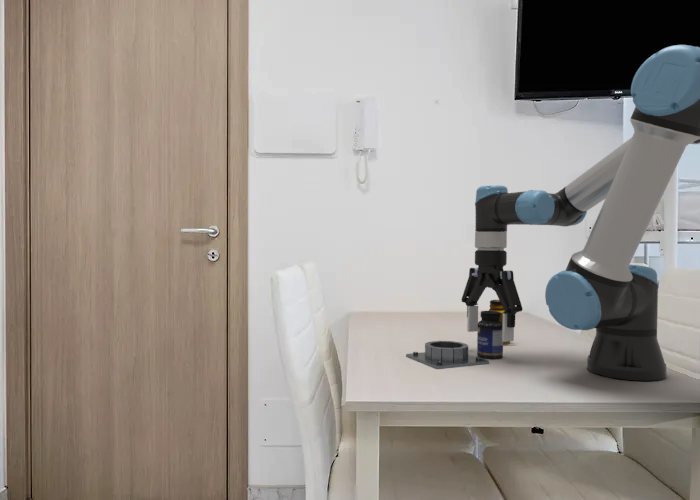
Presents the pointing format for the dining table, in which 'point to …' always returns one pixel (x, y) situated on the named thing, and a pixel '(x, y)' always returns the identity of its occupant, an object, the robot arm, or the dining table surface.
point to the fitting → (446, 355)
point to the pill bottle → (490, 336)
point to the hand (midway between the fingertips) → (489, 336)
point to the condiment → (497, 306)
